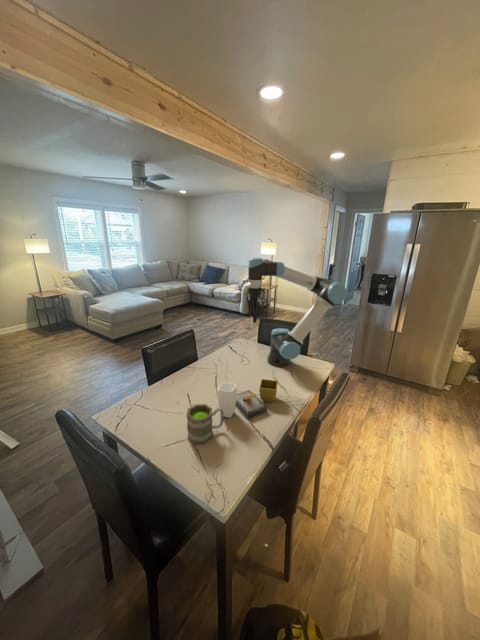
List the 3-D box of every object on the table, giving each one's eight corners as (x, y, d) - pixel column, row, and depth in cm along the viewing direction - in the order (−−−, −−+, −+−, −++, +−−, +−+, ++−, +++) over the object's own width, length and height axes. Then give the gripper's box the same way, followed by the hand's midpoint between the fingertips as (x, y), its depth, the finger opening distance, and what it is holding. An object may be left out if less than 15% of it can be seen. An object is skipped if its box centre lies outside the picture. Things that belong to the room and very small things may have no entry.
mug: (190, 448, 103) (189, 423, 100) (184, 430, 113) (183, 407, 109) (227, 437, 110) (227, 413, 106) (219, 421, 119) (219, 398, 115)
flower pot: (275, 405, 131) (276, 390, 128) (258, 403, 132) (259, 387, 130) (276, 395, 139) (278, 380, 136) (260, 393, 141) (261, 378, 138)
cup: (216, 416, 122) (216, 388, 117) (223, 407, 128) (223, 381, 124) (230, 421, 119) (231, 392, 115) (237, 411, 126) (237, 384, 121)
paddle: (249, 394, 132) (255, 393, 126) (250, 397, 132) (256, 396, 126) (241, 397, 130) (247, 396, 124) (242, 400, 129) (248, 398, 124)
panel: (249, 394, 139) (249, 389, 138) (267, 411, 126) (267, 406, 125) (231, 401, 133) (231, 395, 132) (247, 419, 120) (248, 413, 119)
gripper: (242, 285, 147) (241, 325, 154) (255, 289, 136) (254, 331, 144) (253, 284, 151) (252, 323, 158) (267, 288, 140) (265, 329, 147)
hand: (253, 327), depth 151 cm, fingers closed
